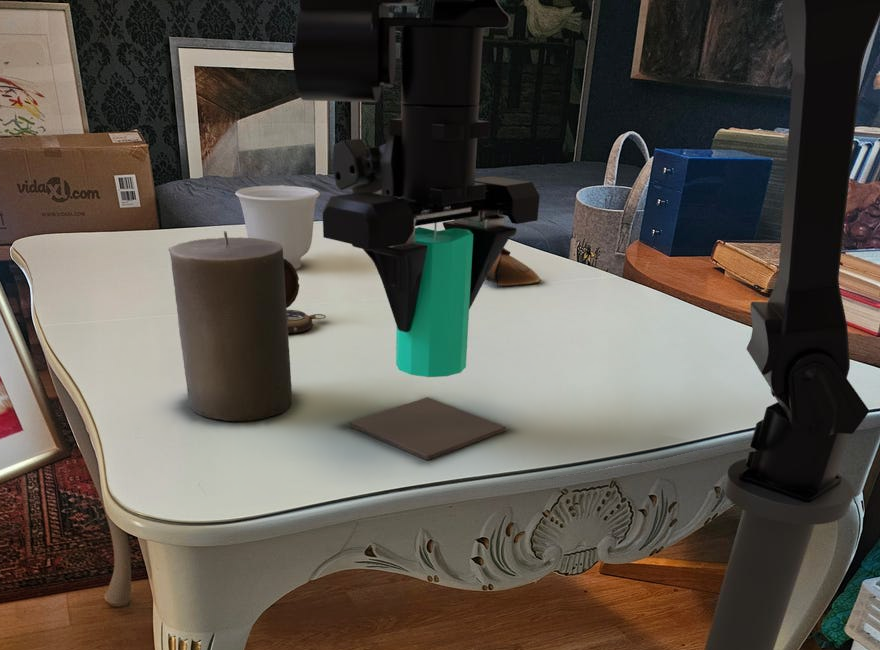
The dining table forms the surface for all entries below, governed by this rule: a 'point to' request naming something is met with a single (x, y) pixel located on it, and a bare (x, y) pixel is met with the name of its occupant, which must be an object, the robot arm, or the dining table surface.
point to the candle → (439, 307)
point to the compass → (295, 318)
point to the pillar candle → (233, 326)
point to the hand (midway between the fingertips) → (432, 323)
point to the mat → (427, 427)
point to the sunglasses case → (511, 271)
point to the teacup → (280, 217)
